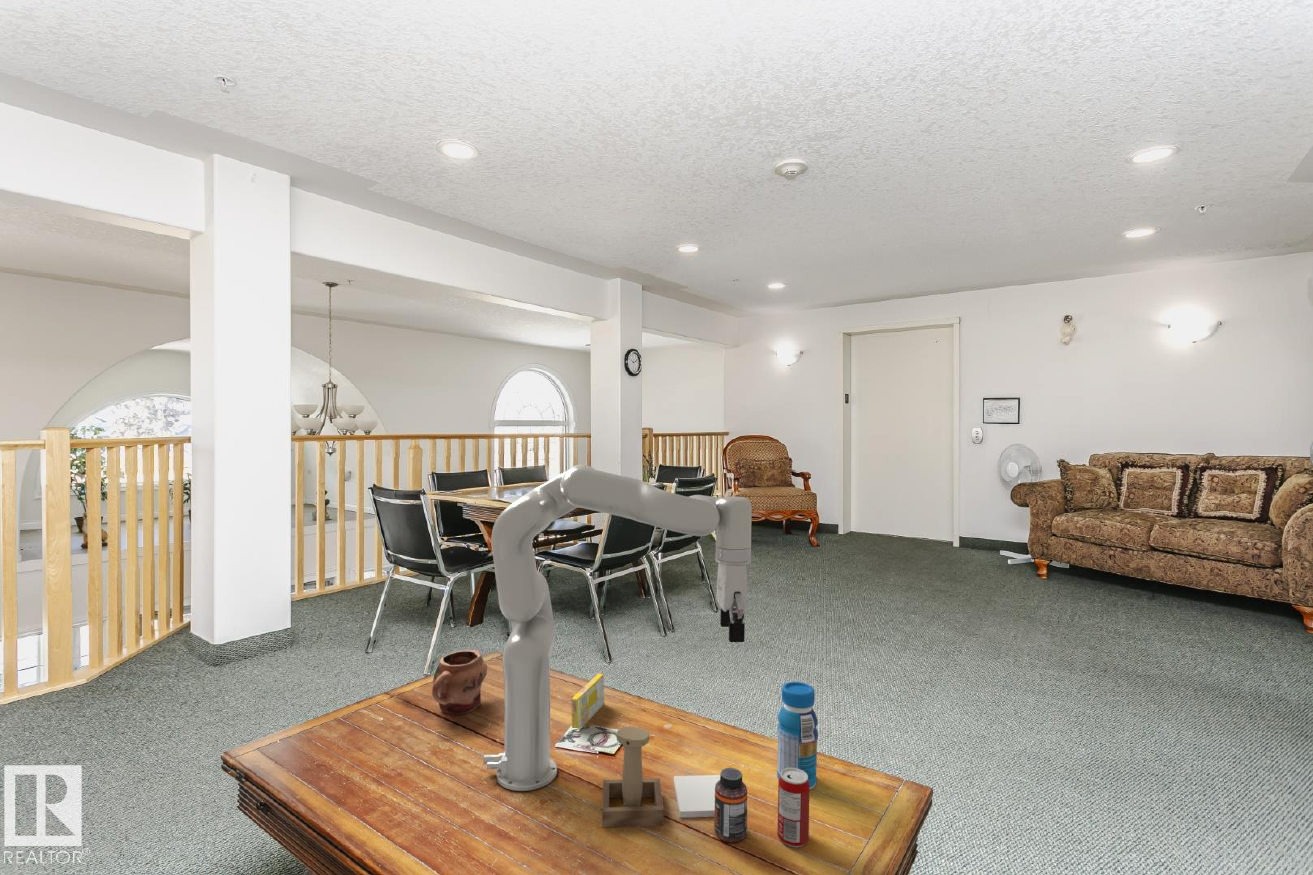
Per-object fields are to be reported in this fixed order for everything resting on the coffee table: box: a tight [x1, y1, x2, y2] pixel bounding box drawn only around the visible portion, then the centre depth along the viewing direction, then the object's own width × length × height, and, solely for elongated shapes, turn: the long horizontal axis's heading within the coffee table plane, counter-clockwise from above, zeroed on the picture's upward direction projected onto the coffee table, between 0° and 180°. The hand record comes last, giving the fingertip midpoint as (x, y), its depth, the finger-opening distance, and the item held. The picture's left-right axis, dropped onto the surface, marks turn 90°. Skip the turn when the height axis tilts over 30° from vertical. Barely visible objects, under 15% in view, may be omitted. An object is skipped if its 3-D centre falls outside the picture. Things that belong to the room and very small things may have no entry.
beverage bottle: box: [776, 681, 819, 790], centre depth 133 cm, size 8×8×20 cm
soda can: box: [777, 768, 811, 848], centre depth 114 cm, size 6×6×12 cm
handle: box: [616, 726, 650, 807], centre depth 122 cm, size 5×6×15 cm
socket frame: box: [601, 777, 665, 828], centre depth 122 cm, size 11×10×3 cm
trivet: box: [673, 774, 720, 819], centre depth 126 cm, size 12×12×1 cm
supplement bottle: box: [713, 767, 748, 843], centre depth 116 cm, size 6×6×11 cm
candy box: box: [570, 673, 605, 729], centre depth 161 cm, size 16×2×8 cm, turn 162°
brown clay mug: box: [431, 649, 488, 715], centre depth 163 cm, size 20×12×14 cm, turn 168°
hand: (731, 633), depth 135 cm, fingers open, 9 cm apart
